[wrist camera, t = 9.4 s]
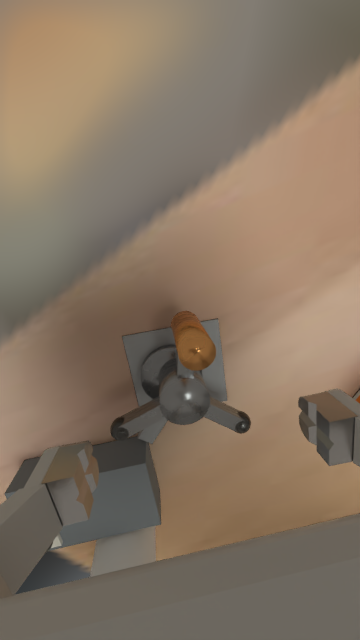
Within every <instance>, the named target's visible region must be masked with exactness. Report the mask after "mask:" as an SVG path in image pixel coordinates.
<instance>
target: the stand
mask: <svg viewBox="0 0 360 640" xmlns="http://www.w3.org/2000/svg"><path fill="white" fill-rule="evenodd" d="M200 323H201V324H202V326H203V327H204V329H205V330H206V332H207V334H208V335H209V337H210V338H211V340H212V341H213V343H214V344H215V347H216V357H215V359H214V361H213V363H212V364H211V365H210V366H208V367H207V368H205V369H203V370H202V377H203V380H204V382H205V385H206V387H207V390H208V392H209V395H210V397H212V398H214V399H216V400H218V401H220V402H222V401H227V393H226V384H225V375H224V366H223V358H222V349H221V340H220V332H219V323H218V319H213V320H207V321H202V322H200ZM122 338H123V342H124V347H125V351H126V355H127V359H128V363H129V367H130V371H131V375H132V379H133V383H134V387H135V392H136V396H137V400H138V404H139V407H140V406H142V405H144V404H145V403H147V402H149V401H151V400H153V399H152V398H151V397H149V396H148V395H147V394H146V392H145V391H144V389H143V387H142V384H141V368H142V364H143V362H144V360H145V358H146V357H147V356H148V355H149V354H150V353H151V352H152V351H153V350H155V349H157V348H159V347H161V346H165V345H176V344H175V340H174V336H173V332H172V328H171V327H170V328H164V329H159V330H153V331H148V332H143V333H137V334H132V335H126V336H122ZM167 421H168V420H167V419H166V418H164V419H162V420H160V421H158V422H157V423H155V424H153V425H151V426H149V427H147V428H145V429H143V430H142V431H140V432H138V436H137V437H132V438H127V439H125V440H122V441H119V440H118V441H113V442H108V443H103V444H99V445H94V446H92V447H93V452H92V456H93V457H95V458H96V459H97V463H98V468H99V480H98V484H97V488H96V489H95V490H94V491H93V493H92V496H93V499H94V501H93V505H92V509H91V513H90V517H89V520H86V521H82V522H78V523H74V524H70V525H66V526H62V527H63V528H62V530H61V531H60V533H59V534H58V535H57V537H56V538H55V539H54V541H53V542H52V544H51V545H50V546H49V548H48V549H47V550H46V552H48V551H50V550H54V549H58V548H63V547H67V546H71V545H75V544H80V543H84V542H88V541H93V540H97V539H101V538H105V537H110V536H114V535H118V534H122V533H127V532H131V531H135V530H140V529H144V528H148V527H152V526H157V525H161V504H160V489H159V484H158V480H157V476H156V472H155V468H154V464H153V460H152V456H151V452H150V447H149V443H151V444H152V443H153V442H154V440H155V439H156V437H157V436H158V434H159V433H160V431H161V430H162V428H163V427H164V425H165V424H166V422H167ZM40 458H41V457H37V458H32V459H28V460H24V462H23V464H22V465H21V467H20V469H19V470H18V472H17V474H16V475H15V477H14V479H13V480H12V482H11V484H10V485H9V487H8V489H7V490H6V492H5V496H6V498H7V499H8V498H9V497H10V496H12V495H13V494H14V493H15V492H16V491H17V490H19V489H22V488H24V486H25V485H26V483H27V481H28V479H29V478H30V476H31V474H32V472H33V470H34V469H35V467H36V465H37V463H38V462H39V460H40ZM46 552H45V553H46ZM45 553H44V554H45Z"/></svg>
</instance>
